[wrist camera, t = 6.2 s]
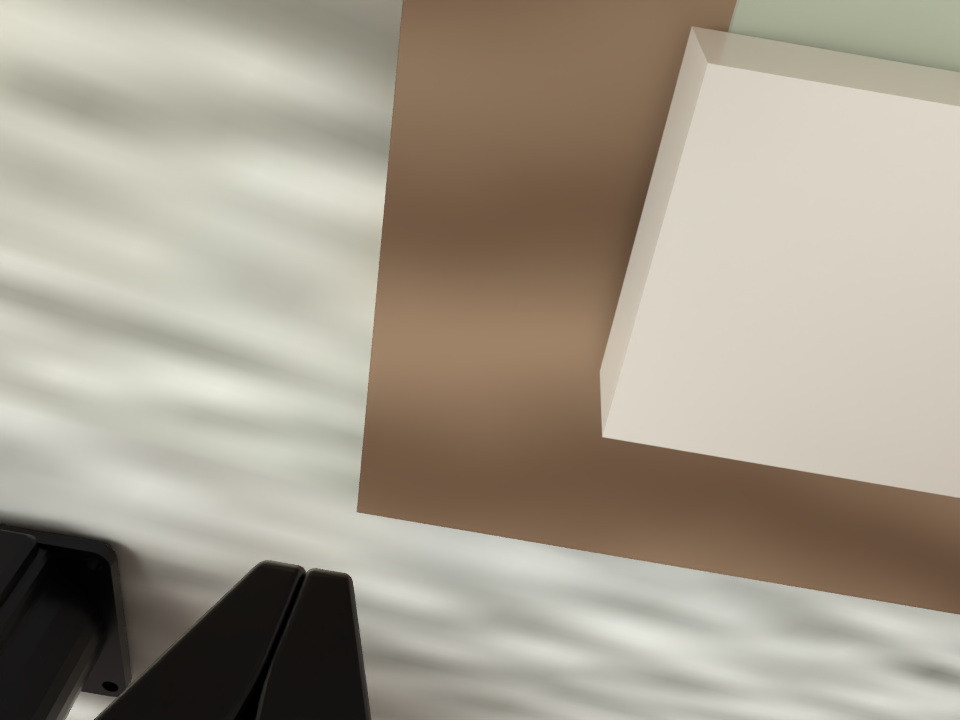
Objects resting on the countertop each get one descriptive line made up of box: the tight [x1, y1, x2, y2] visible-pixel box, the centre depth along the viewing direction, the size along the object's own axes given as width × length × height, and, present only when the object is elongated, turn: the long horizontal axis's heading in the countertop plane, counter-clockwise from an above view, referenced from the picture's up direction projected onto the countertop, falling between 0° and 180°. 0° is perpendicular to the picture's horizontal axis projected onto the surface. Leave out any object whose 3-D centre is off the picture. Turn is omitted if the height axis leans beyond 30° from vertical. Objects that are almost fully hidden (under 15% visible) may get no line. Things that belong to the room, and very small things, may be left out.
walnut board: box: [357, 0, 960, 614], centre depth 18 cm, size 16×19×1 cm
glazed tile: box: [600, 26, 960, 498], centre depth 16 cm, size 7×2×7 cm
